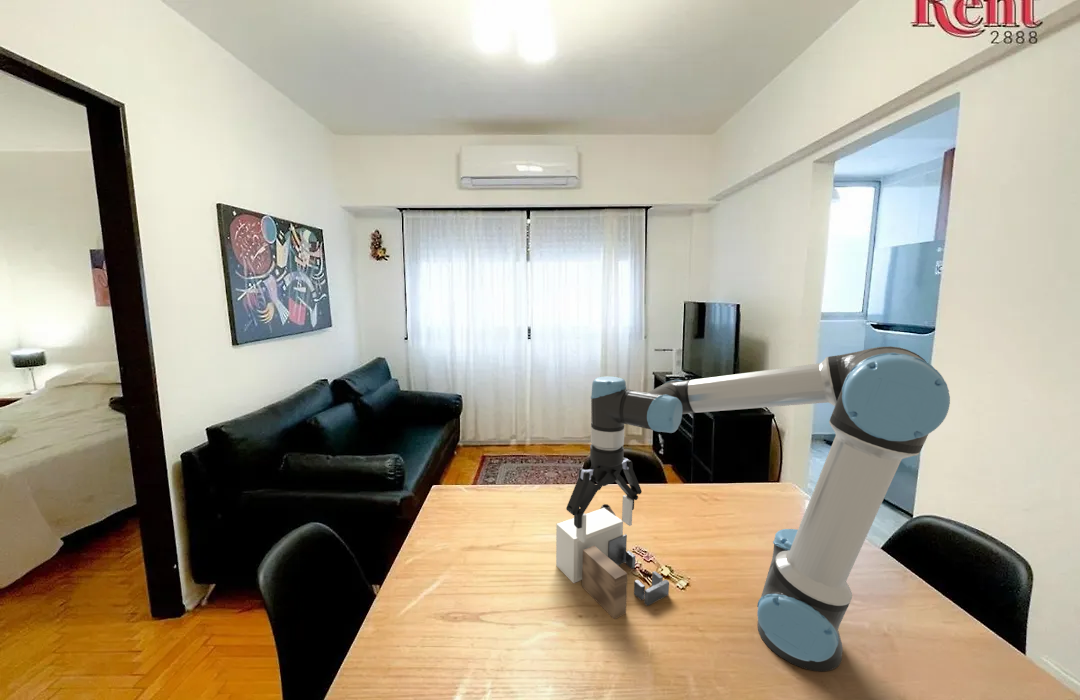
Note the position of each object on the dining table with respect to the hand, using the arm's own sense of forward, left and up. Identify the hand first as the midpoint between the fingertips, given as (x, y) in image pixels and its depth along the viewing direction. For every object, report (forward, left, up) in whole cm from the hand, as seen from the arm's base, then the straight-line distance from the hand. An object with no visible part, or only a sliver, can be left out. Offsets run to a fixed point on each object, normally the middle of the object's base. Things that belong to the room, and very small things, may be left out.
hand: (604, 531), depth 98 cm
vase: (+20, -17, -17) cm, 32 cm away
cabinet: (+11, -4, -17) cm, 21 cm away
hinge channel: (0, -10, -17) cm, 20 cm away
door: (-1, +1, -17) cm, 17 cm away
